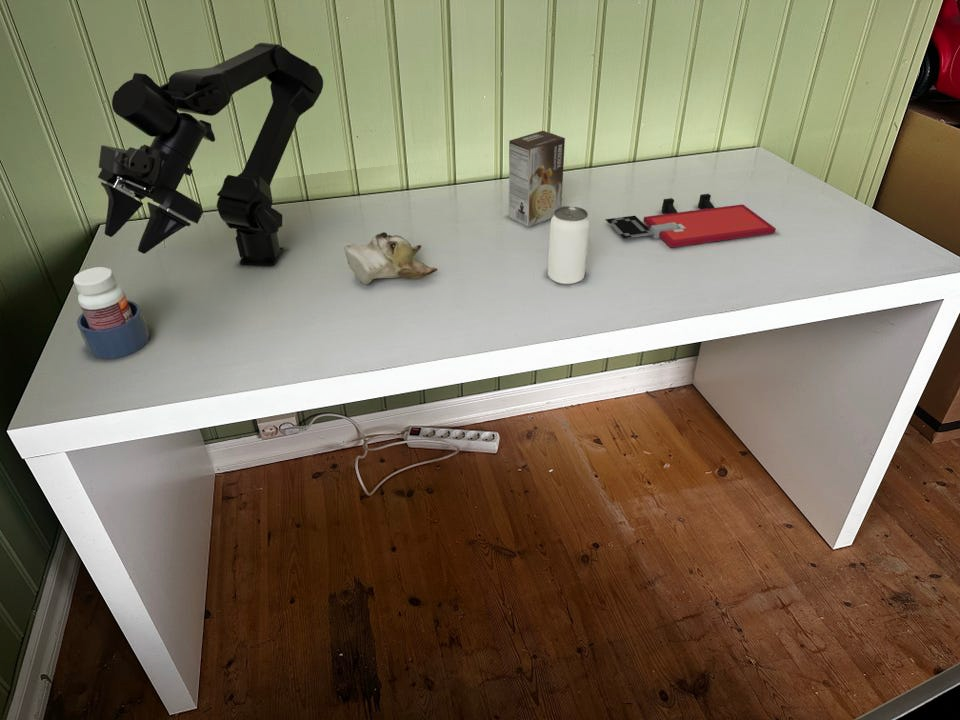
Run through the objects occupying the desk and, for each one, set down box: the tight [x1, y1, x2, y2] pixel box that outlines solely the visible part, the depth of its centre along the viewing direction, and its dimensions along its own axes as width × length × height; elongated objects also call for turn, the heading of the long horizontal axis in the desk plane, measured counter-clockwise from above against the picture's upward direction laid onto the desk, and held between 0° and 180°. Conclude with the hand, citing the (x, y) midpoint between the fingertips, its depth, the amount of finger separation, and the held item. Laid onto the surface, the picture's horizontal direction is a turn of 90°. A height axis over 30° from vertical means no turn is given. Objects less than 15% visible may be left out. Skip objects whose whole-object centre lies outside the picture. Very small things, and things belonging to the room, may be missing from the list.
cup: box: [76, 299, 150, 360], centre depth 104 cm, size 9×9×5 cm
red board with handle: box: [604, 193, 777, 248], centre depth 135 cm, size 30×3×15 cm
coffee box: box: [508, 130, 566, 228], centre depth 135 cm, size 9×6×16 cm
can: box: [547, 205, 590, 286], centre depth 117 cm, size 6×6×12 cm
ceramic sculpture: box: [343, 231, 438, 286], centre depth 119 cm, size 11×9×15 cm
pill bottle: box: [73, 266, 133, 330], centre depth 102 cm, size 6×6×11 cm
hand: (124, 243), depth 102 cm, fingers open, 9 cm apart
